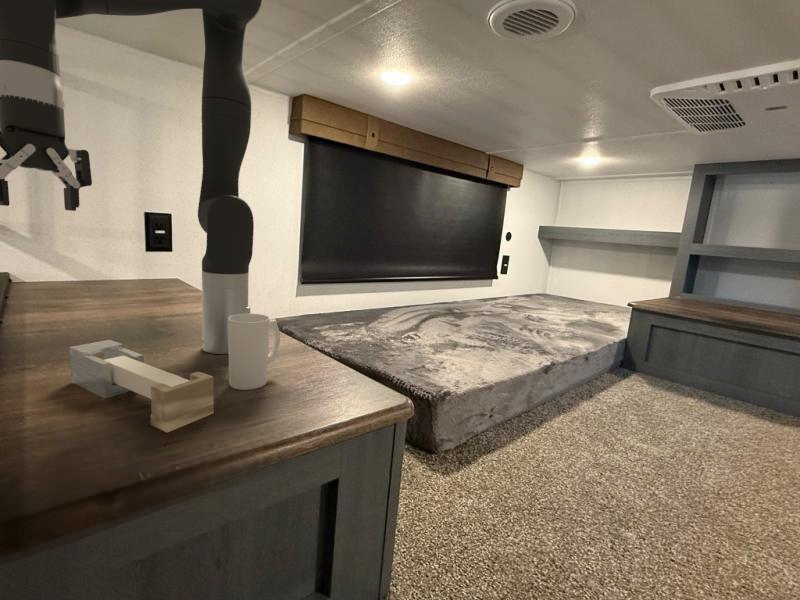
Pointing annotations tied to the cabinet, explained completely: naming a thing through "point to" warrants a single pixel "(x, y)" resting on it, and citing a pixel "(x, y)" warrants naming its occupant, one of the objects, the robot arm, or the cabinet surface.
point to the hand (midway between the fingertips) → (38, 208)
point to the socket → (182, 402)
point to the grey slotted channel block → (98, 367)
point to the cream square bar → (140, 375)
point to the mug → (250, 349)
